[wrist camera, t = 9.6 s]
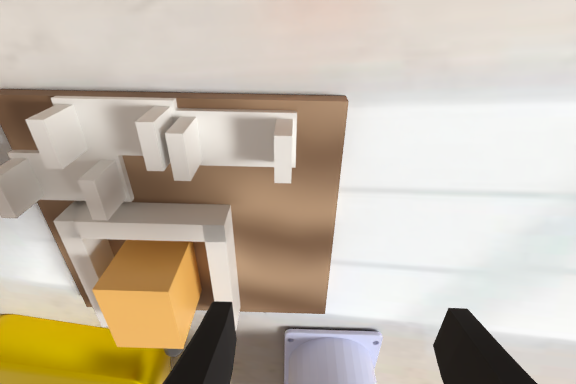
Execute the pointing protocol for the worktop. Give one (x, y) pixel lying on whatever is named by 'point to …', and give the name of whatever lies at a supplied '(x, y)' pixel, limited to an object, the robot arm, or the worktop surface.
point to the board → (235, 196)
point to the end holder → (151, 226)
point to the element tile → (72, 355)
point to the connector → (150, 294)
